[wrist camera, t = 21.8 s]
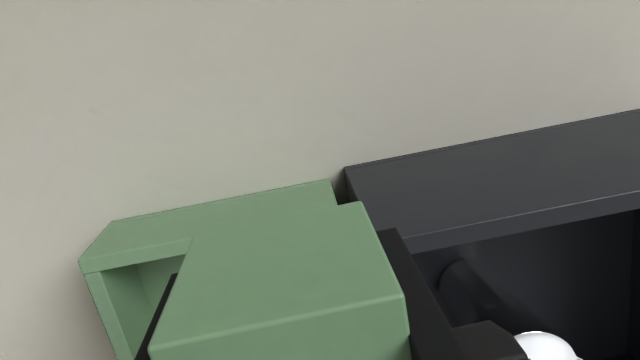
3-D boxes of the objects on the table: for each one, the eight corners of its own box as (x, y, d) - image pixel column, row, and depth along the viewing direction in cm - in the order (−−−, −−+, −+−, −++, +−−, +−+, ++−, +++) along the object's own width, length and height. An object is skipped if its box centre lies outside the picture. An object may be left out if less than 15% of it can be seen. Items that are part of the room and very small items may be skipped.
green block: (192, 234, 12) (144, 349, 8) (361, 199, 12) (405, 294, 8) (235, 370, 13) (214, 529, 9) (385, 338, 13) (432, 482, 9)
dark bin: (343, 166, 26) (376, 242, 17) (644, 107, 26) (835, 150, 17) (384, 405, 32) (425, 556, 23) (631, 354, 32) (768, 484, 23)
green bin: (111, 221, 26) (76, 260, 22) (329, 178, 26) (338, 208, 22) (173, 393, 30) (155, 456, 26) (362, 355, 30) (375, 410, 26)
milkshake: (518, 294, 29) (632, 424, 20) (438, 323, 29) (512, 466, 20) (502, 233, 28) (616, 343, 18) (418, 265, 28) (487, 389, 18)
